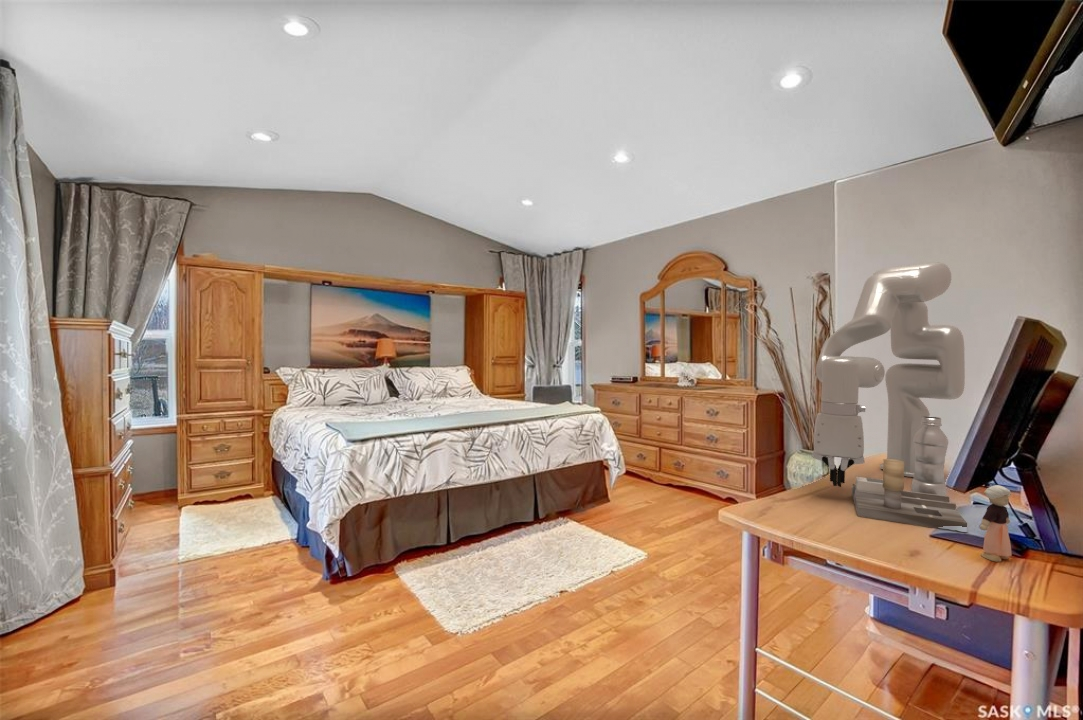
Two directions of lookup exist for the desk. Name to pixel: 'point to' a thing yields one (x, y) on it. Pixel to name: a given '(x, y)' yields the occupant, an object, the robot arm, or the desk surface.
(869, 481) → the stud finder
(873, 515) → the grey ridged panel
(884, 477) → the tan cylinder
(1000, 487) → the grandmother figurine
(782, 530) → the desk surface
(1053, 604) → the desk surface
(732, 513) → the desk surface
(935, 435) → the plastic bottle
